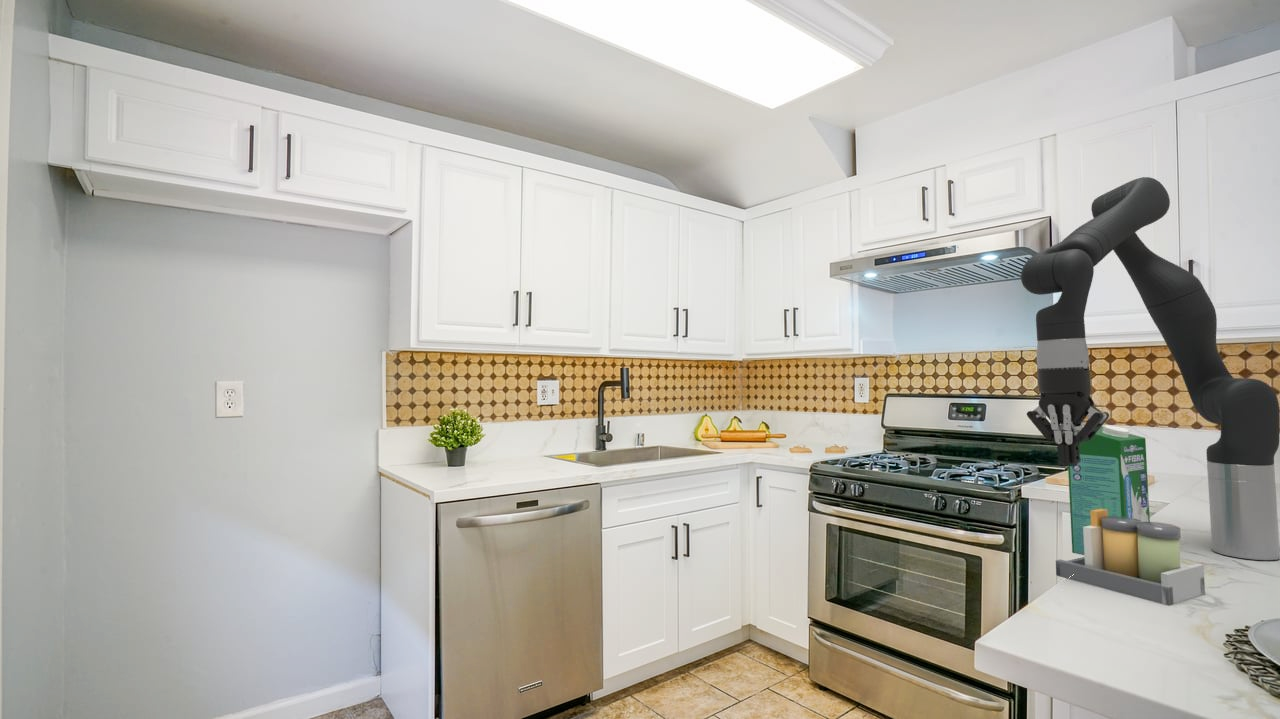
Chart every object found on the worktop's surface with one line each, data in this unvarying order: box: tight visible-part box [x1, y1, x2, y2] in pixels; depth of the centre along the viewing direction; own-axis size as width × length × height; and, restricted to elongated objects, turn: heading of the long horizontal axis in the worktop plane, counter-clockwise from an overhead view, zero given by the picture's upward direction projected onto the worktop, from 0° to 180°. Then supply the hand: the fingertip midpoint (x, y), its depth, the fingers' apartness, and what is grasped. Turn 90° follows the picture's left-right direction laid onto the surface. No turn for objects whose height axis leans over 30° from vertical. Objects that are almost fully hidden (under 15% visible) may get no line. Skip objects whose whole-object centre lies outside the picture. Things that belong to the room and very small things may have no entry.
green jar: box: [1136, 521, 1181, 584], centre depth 96 cm, size 5×5×10 cm
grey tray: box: [1055, 556, 1206, 606], centre depth 100 cm, size 10×16×5 cm, turn 25°
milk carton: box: [1067, 423, 1151, 556], centre depth 117 cm, size 9×9×25 cm
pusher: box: [1083, 509, 1108, 570], centre depth 103 cm, size 7×1×11 cm, turn 115°
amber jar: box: [1101, 516, 1142, 578], centre depth 100 cm, size 5×5×10 cm
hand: (1069, 465), depth 107 cm, fingers closed
